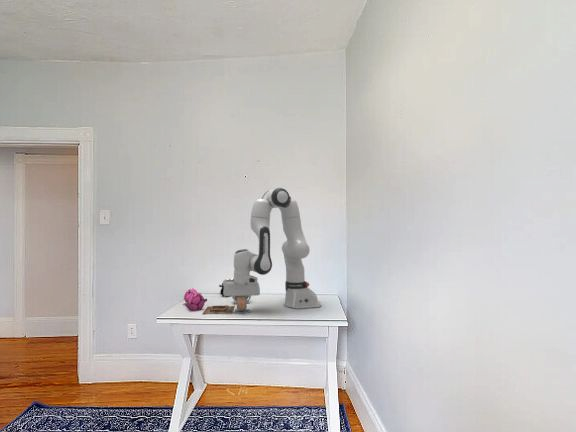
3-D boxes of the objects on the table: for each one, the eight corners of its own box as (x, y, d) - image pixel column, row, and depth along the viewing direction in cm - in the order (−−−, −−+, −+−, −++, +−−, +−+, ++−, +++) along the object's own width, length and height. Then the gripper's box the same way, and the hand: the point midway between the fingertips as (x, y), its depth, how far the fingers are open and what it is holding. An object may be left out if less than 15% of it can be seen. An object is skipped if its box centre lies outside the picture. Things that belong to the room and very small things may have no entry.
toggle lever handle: (236, 307, 195) (236, 296, 195) (245, 306, 196) (245, 296, 197) (238, 312, 185) (238, 300, 185) (248, 311, 187) (248, 300, 187)
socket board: (234, 306, 206) (234, 303, 206) (232, 313, 190) (232, 310, 190) (207, 307, 205) (207, 304, 205) (202, 314, 189) (202, 311, 189)
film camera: (212, 297, 232) (212, 282, 232) (221, 293, 244) (221, 279, 244) (237, 298, 227) (237, 283, 227) (244, 294, 239) (244, 280, 239)
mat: (249, 309, 198) (249, 308, 198) (248, 313, 190) (248, 312, 190) (235, 309, 198) (235, 309, 198) (233, 313, 190) (233, 312, 190)
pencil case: (207, 309, 199) (207, 292, 199) (190, 312, 194) (190, 294, 194) (198, 302, 217) (198, 286, 218) (182, 304, 213) (182, 287, 213)
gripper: (222, 280, 190) (222, 305, 190) (259, 279, 192) (259, 304, 191) (223, 278, 197) (223, 302, 196) (259, 277, 198) (260, 301, 198)
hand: (241, 303), depth 194 cm, fingers closed on toggle lever handle, 5 cm apart
